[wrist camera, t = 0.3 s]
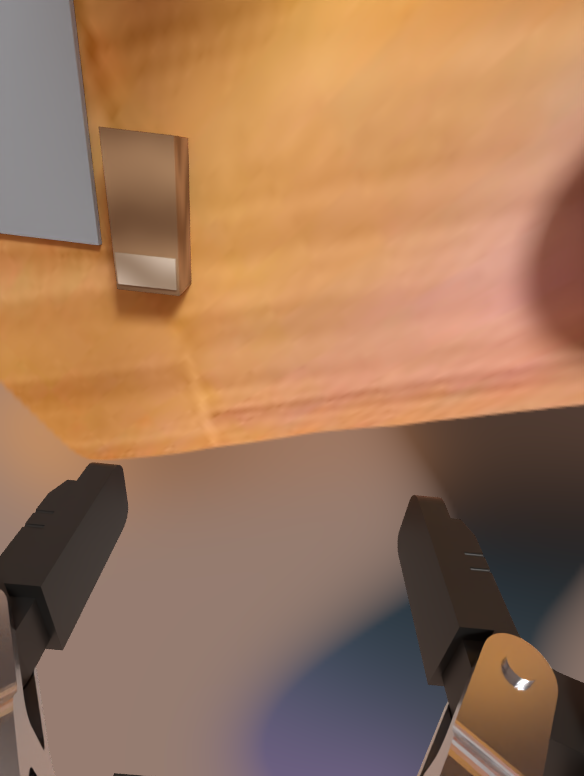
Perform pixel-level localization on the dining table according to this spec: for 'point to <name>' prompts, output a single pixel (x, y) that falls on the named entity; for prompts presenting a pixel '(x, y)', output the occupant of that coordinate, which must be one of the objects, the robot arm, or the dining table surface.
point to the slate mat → (44, 126)
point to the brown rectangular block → (148, 209)
